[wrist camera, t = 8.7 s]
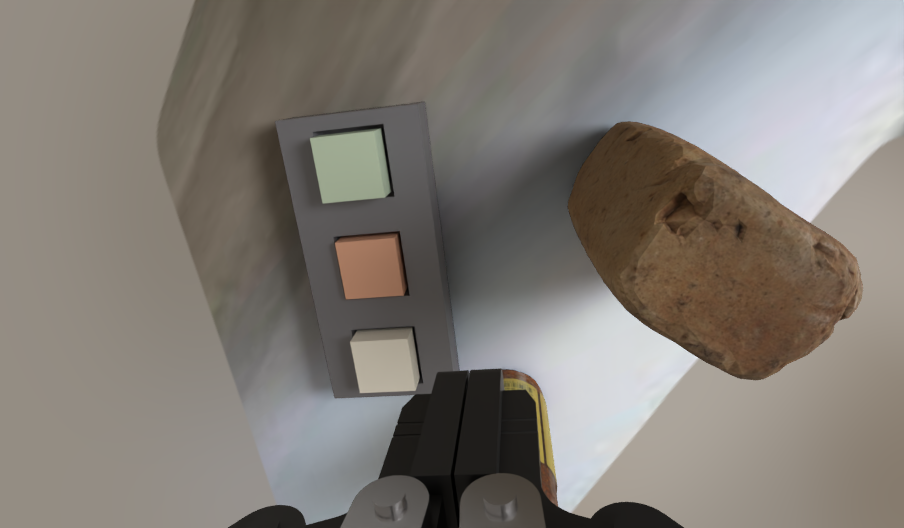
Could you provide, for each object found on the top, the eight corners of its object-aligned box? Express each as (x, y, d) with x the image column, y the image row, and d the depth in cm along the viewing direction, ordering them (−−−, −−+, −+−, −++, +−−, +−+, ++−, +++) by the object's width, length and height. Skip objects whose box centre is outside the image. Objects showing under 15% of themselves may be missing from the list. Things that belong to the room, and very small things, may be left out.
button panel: (291, 117, 40) (274, 121, 37) (424, 101, 39) (417, 103, 36) (345, 378, 47) (334, 398, 44) (459, 373, 46) (456, 393, 43)
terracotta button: (343, 235, 41) (334, 243, 39) (400, 230, 40) (394, 238, 38) (353, 289, 42) (345, 299, 40) (408, 285, 42) (403, 295, 40)
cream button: (357, 330, 43) (349, 342, 41) (412, 326, 42) (407, 338, 40) (366, 379, 44) (360, 393, 42) (420, 377, 43) (415, 390, 41)
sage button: (320, 135, 38) (309, 138, 36) (381, 128, 37) (374, 131, 35) (331, 197, 39) (322, 203, 37) (391, 191, 39) (384, 197, 37)
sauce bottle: (457, 390, 46) (417, 605, 28) (515, 351, 44) (515, 553, 26) (504, 443, 47) (497, 683, 29) (563, 407, 46) (596, 638, 27)
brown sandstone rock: (551, 192, 40) (582, 299, 21) (617, 103, 37) (719, 134, 19) (669, 273, 41) (799, 443, 22) (741, 191, 38) (956, 305, 20)
